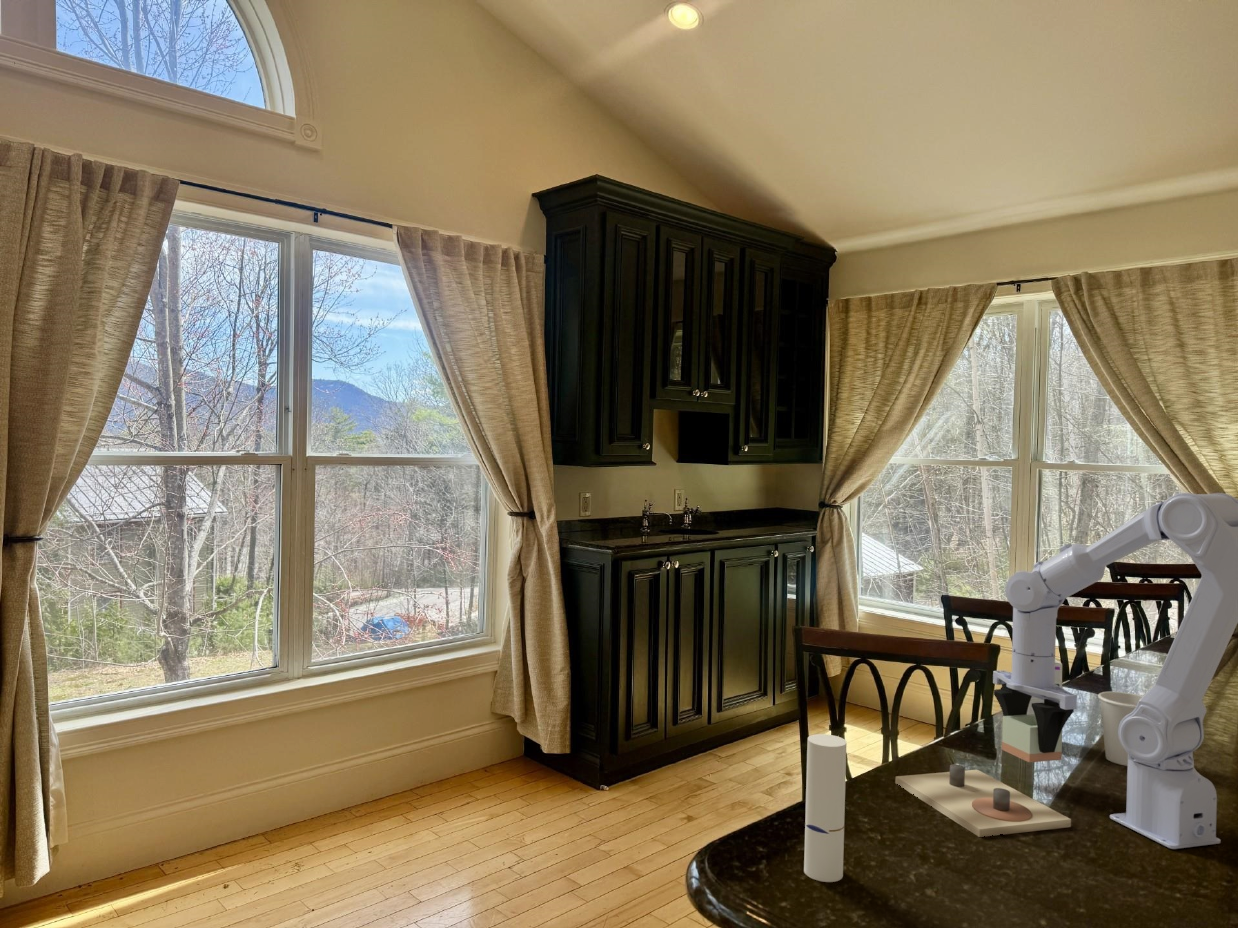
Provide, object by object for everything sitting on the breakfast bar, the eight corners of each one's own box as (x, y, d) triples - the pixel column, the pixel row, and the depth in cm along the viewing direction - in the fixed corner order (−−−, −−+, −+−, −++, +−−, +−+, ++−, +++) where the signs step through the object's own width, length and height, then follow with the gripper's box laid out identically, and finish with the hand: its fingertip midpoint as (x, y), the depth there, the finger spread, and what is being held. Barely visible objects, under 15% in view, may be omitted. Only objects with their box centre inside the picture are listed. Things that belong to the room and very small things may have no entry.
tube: (836, 863, 98) (840, 734, 98) (847, 881, 94) (851, 746, 94) (799, 863, 98) (803, 733, 98) (809, 881, 94) (813, 746, 94)
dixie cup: (1166, 772, 131) (1167, 707, 131) (1107, 766, 133) (1108, 703, 133) (1144, 754, 139) (1145, 693, 139) (1088, 749, 141) (1090, 689, 141)
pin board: (1070, 826, 110) (1071, 799, 110) (979, 836, 106) (980, 809, 106) (976, 775, 127) (977, 752, 127) (895, 783, 124) (896, 759, 123)
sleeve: (1061, 759, 123) (1062, 725, 123) (1029, 762, 122) (1030, 727, 121) (1032, 746, 128) (1033, 713, 128) (1001, 749, 127) (1002, 716, 127)
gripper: (977, 643, 131) (975, 731, 131) (1048, 665, 117) (1046, 763, 117) (1015, 641, 133) (1013, 728, 133) (1089, 663, 119) (1087, 760, 119)
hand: (1031, 744), depth 125 cm, fingers closed on sleeve, 6 cm apart
